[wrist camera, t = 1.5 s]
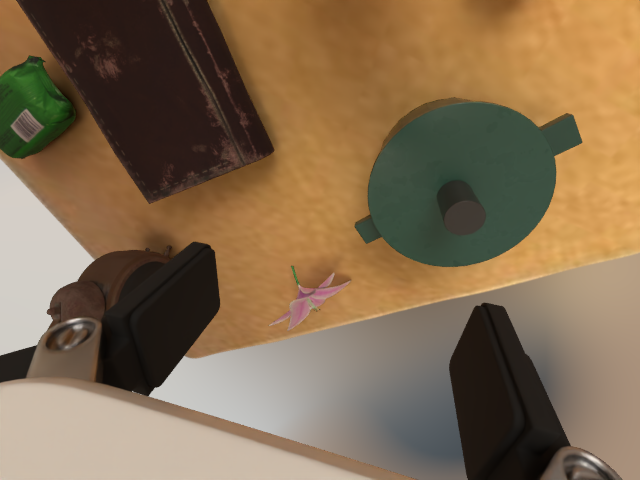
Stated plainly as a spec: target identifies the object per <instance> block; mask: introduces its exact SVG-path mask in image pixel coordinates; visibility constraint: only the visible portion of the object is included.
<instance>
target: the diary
mask: <svg viewBox="0 0 640 480" xmlns="http://www.w3.org/2000/svg"><path fill="white" fill-rule="evenodd" d="M16 1H17V2H18V4H19V5H20V7H21V8H22V10H23V11H24V13H25V14H26V16H27V17H28V19H29V20H30V22H31V23H32V25H33V26H34V27H35V29H36V30H37V32H38V33H39V35H40V36H41V38H42V39H43V41H44V42H45V44H46V45H47V47H48V48H49V50H50V51H51V53H52V54H53V56H54V57H55V59H56V60H57V62H58V63H59V65H60V66H61V68H62V69H63V71H64V72H65V74H66V75H67V77H68V78H69V80H70V81H71V83H72V84H73V86H74V87H75V89H76V90H77V92H78V93H79V95H80V96H81V98H82V99H83V101H84V102H85V104H86V106H87V107H88V109H89V111H90V112H91V114H92V116H93V118H94V119H95V121H96V123H97V124H98V126H99V128H100V129H101V131H102V133H103V134H104V136H105V138H106V139H107V141H108V143H109V144H110V146H111V148H112V149H113V151H114V153H115V154H116V156H117V157H118V159H119V160H120V162H121V163H122V165H123V166H124V168H125V169H126V171H127V172H128V174H129V175H130V176H131V178H132V179H133V181H134V182H135V184H136V185H137V187H138V188H139V190H140V191H141V193H142V194H143V196H144V197H145V199H146V200H147V202H148V203H149V204H150V203H153V202H155V201H158V200H160V199H163V198H165V197H168V196H171V195H173V194H176V193H178V192H181V191H183V190H186V189H188V188H191V187H193V186H196V185H198V184H201V183H203V182H206V181H208V180H211V179H213V178H216V177H218V176H221V175H223V174H226V173H228V172H231V171H233V170H236V169H238V168H241V167H243V166H245V165H248V164H251V163H253V162H256V161H258V160H261V159H262V158H264V157H266V156H268V155H270V154H271V153H273V152H274V148H273V146H272V144H271V141H270V139H269V137H268V135H267V133H266V131H265V129H264V127H263V124H262V122H261V120H260V118H259V116H258V114H257V112H256V110H255V107H254V105H253V103H252V101H251V99H250V97H249V95H248V93H247V90H246V88H245V86H244V83H243V81H242V79H241V76H240V74H239V72H238V70H237V67H236V65H235V63H234V60H233V58H232V56H231V53H230V51H229V49H228V46H227V44H226V42H225V39H224V37H223V35H222V33H221V30H220V28H219V26H218V24H217V22H216V20H215V17H214V15H213V13H212V11H211V9H210V7H209V5H208V3H207V1H206V0H16Z"/></svg>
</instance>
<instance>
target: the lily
mask: <svg viewBox="0 0 640 480" xmlns="http://www.w3.org/2000/svg"><path fill="white" fill-rule="evenodd" d="M291 267H292V271H293V274H294V277H295V280H296V282H297V285H298V287H299V292H298V296H297V298H296V300H294V301H292V302H291V303H290V306H289V307H290V310H289V311H288V312H287V313H286V314H284V315H283V316H282V317H280V318H279V319H277V320H276V321H274V322H273V323H271V324H270V325H268V326H271V325H274V324H277V323H280V322H282V321H284V320H286V319H288V318H289V317H290V316H291V318H290V324H289V327H288V330H287V331H289V330H291V329H292V328H294V327H295V326H296V325H298V324H299V323H300V322H302V321H303V320H304V319H305V318H306V317H307V316H308V314H309V312H310V311H311V309H315V308H317V307H318V306H320V305H321V304H323V303H324V302H325V299H326V298H329V297H331V296H333V295H335V294H336V293H338V292H339V291H340V290H342V289H343V288H344V287H345V286H346V285H347V284H349V283H350V281H351V280H350V281H348V282H346V283H344V284H342V285H339V286H336V287H330V288H325V287H327V286H329V285H330V283H331V282H332V280H333V277H334V273H333V274H332V275H331V276H330V277H329V278H328V279H327V280H325V281H324V282H323V283H322V284H321V285H320V286H319V287H318V288H304V287H301V286H300V284H299V282H298V279H297V277H296V274H295V270H294V267H293V266H291ZM319 288H322V289H319ZM317 309H318V308H317ZM315 310H316V309H315ZM315 310H314V311H315ZM319 310H320V309H319ZM316 311H317V310H316Z"/></svg>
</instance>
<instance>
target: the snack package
mask: <svg viewBox="0 0 640 480" xmlns="http://www.w3.org/2000/svg"><path fill="white" fill-rule="evenodd" d="M43 62H45V61H44V60H42V58H41V57H34V56H30V55H29V57H28V59H27V60H26V61H25V62H24V63H22V64H19V65H17V66H14V67H12V68H10V69H9V70H7V71H6V72H5V73H4V74H3V75H2V76H1V77H0V149H1V150H2V151H3V152H4V153H5V154H7V155H8V156H10V157H12V158H21V159H24V158H25V157H27V156H30V155H33V154H36V153H38V152H40V151H41V150H42V149H43V148H44V147H45V146H47V145H48V144H49V143H50V142H51V141H52V140H54V139H55V138H57V137H58V136H59V135H60V134H61V133H63V132H64V131H65V130H66V129H67V127H68V126H70V125H71V124H72V123H73V122H74V120H75V118H76V110H75V109H74V107H73V104H72V103H71V102H70V101H69V100H68V99H67V98H66V97H64V96H63V95H62V93H61V92H60V91H59V89H58V88H57V87H56V86H55V84H54V83H53V82H52V80H51V78H50V77H49V75H48V74H47V72H46V70H45V68H44V66H43Z"/></svg>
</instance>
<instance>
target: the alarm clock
mask: <svg viewBox="0 0 640 480" xmlns="http://www.w3.org/2000/svg"><path fill="white" fill-rule="evenodd" d="M171 248H172V247H171V246H167V250H166V251H165V253H164V254H163V255H162V254H159V253H154V252H148V251H150V249H149V248H146V249H145V250H146V251H141V250H128V251H116V252H111V253H108V254H105V255H103V256H101V257H100V258H98V259H96V260H95V261H94V262H92V263H91V264H90V265H89V266H88V267H87V268H86V269H85V270H84V272H83V273H82V274H81V276H80V277H79V279H78V281H77V282H74V283H71V284H68V285H66V286H64V287H63V288H60V289H59V290H58V291H57V292H56V293H55V295H54V296H53V297H52V300H51V303H50V309H48V310H47V314H49V315H51V317H52V319H53V322H52V323H51V325H50V326H49V328H48V330H49V329H50V328H52V327H53V326H55V325H56V324H58V323H60V322H62V321H65V320H67V319H70V318H74V317H79V316H93V317H95V318H98V319H99V320H100V321H101V320H102V319H103V318H104V317H106V316H105V312H106V311H107V310H109V309H110V308H111V307H112V306H114V305H115V304H116V303H117V302H119V301H120V300H121V299H122V298H124V297H125V296H126V295H127V294H129V293H130V292H131V291H132V290H134V289H135V288H136V287H137V286H139V285H140V284H141V283H142V282H144V281H145V280H146V279H147V278H149V277H150V276H151V275H152V274H154V273H155V272H156V271H157V270H159V269H160V268H161V267H162V266H164V265H165V264H166V263H167V262H169V261H170V259H169V258H168V256H169V251H170V249H171Z"/></svg>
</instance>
